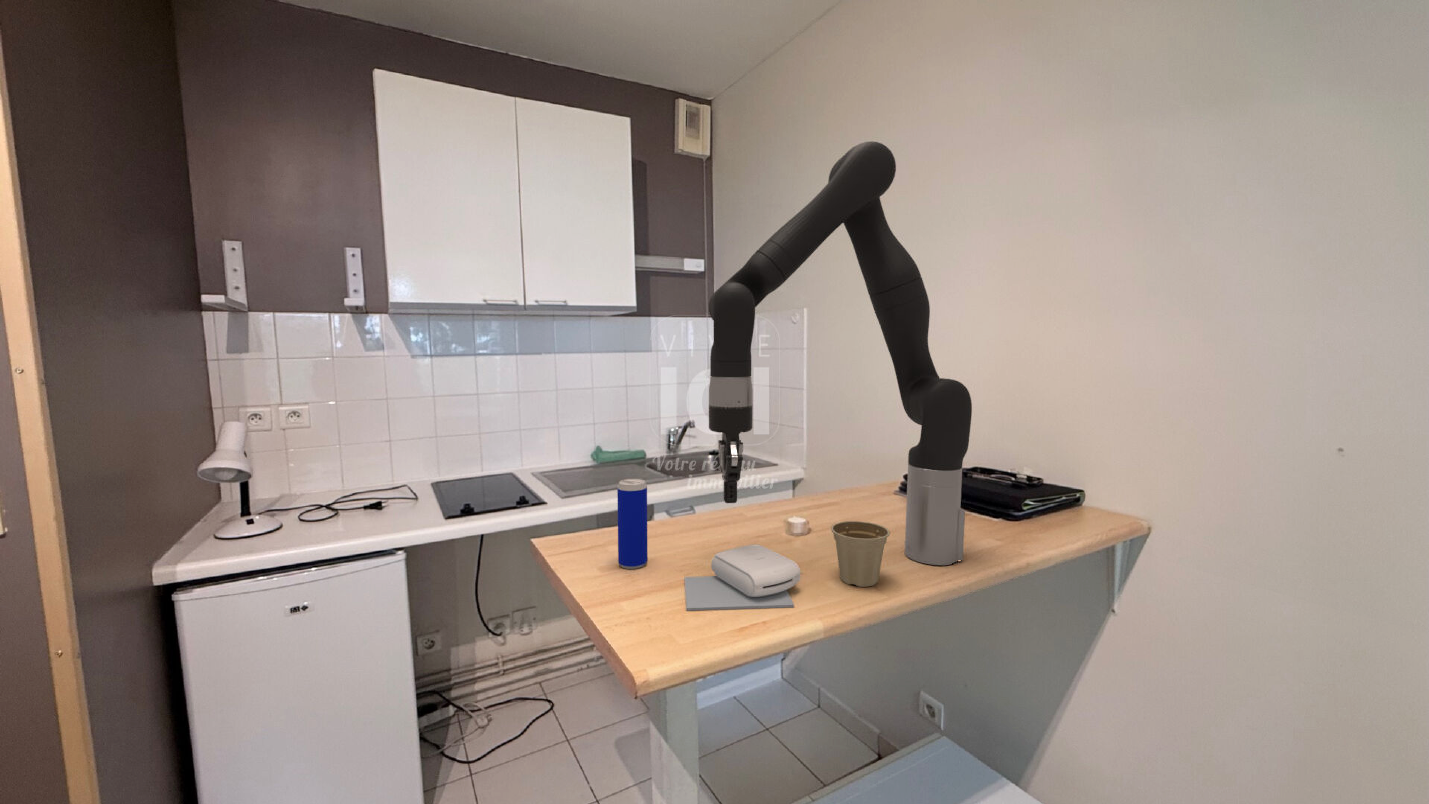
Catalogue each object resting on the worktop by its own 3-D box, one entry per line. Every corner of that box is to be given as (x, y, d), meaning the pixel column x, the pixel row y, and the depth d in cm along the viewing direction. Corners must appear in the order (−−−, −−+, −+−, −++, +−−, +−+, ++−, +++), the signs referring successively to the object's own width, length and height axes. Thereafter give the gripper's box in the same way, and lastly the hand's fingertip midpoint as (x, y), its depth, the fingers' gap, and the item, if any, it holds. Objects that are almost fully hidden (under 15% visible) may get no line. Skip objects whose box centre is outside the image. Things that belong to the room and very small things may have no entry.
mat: (779, 576, 91) (779, 574, 91) (794, 607, 80) (794, 604, 80) (684, 579, 90) (684, 576, 90) (686, 610, 79) (686, 608, 79)
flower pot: (817, 577, 91) (819, 527, 90) (853, 564, 97) (854, 517, 96) (863, 597, 84) (865, 543, 83) (899, 582, 89) (901, 531, 89)
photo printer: (759, 540, 95) (807, 563, 85) (759, 564, 96) (807, 589, 85) (710, 551, 90) (755, 577, 79) (710, 576, 90) (755, 606, 80)
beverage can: (653, 561, 97) (652, 480, 96) (637, 572, 93) (636, 486, 91) (629, 556, 100) (628, 477, 98) (612, 567, 95) (611, 483, 93)
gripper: (758, 406, 86) (757, 512, 88) (746, 399, 99) (746, 491, 101) (712, 407, 85) (711, 513, 87) (706, 399, 99) (706, 492, 100)
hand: (730, 501), depth 94 cm, fingers closed
